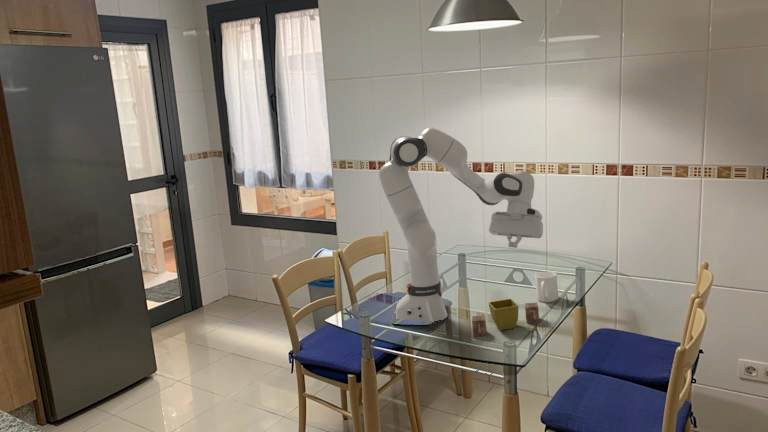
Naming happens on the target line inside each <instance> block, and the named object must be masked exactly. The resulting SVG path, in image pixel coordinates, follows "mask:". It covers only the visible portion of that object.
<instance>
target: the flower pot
mask: <svg viewBox="0 0 768 432" xmlns="http://www.w3.org/2000/svg"><path fill="white" fill-rule="evenodd" d="M488 307H489V312H490V315H491V318H492V320H493V322H494V323H495V325H496V327H498V329H499V330H500V331H505V330H510V329H515V328H516V326H517V324H518V320H519V304H517V302H515V301H514V300H513V298H506V299H501V300H494V301H489V302H488Z"/></svg>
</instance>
